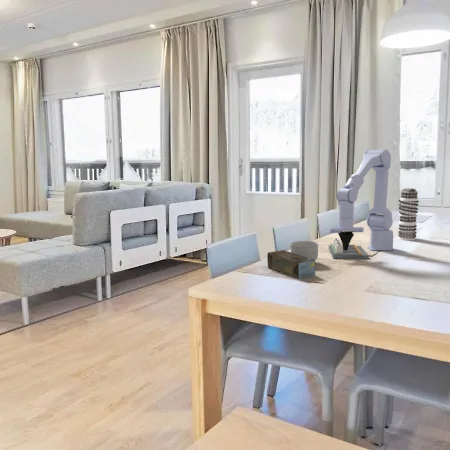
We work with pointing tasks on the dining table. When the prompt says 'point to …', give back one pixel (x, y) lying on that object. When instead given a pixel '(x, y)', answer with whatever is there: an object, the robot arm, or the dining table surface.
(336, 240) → the breaker
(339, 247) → the breaker
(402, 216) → the decorative candle
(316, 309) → the dining table surface
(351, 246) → the panel
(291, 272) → the beverage carton
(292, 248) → the teacup
